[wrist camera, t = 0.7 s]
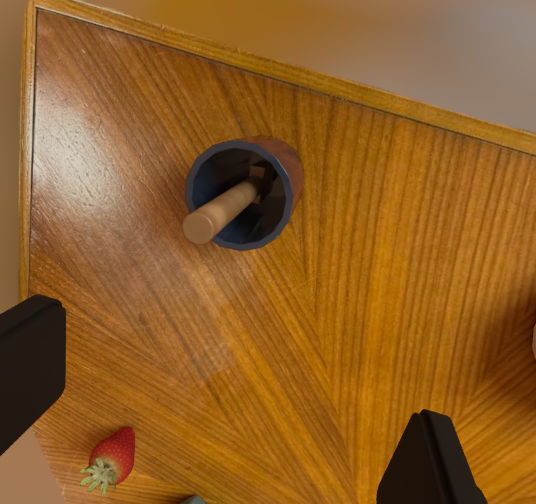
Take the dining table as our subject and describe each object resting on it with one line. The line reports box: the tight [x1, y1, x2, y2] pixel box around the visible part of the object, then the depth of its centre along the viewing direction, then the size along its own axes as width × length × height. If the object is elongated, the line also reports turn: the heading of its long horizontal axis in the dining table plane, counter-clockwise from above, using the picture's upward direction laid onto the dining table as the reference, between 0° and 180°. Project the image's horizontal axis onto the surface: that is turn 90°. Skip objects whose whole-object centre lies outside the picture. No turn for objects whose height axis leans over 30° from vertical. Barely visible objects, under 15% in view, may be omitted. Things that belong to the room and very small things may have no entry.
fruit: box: [80, 427, 135, 495], centre depth 43 cm, size 5×5×8 cm
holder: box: [185, 135, 305, 251], centre depth 29 cm, size 7×7×9 cm
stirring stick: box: [182, 162, 271, 245], centre depth 25 cm, size 3×2×16 cm, turn 171°
